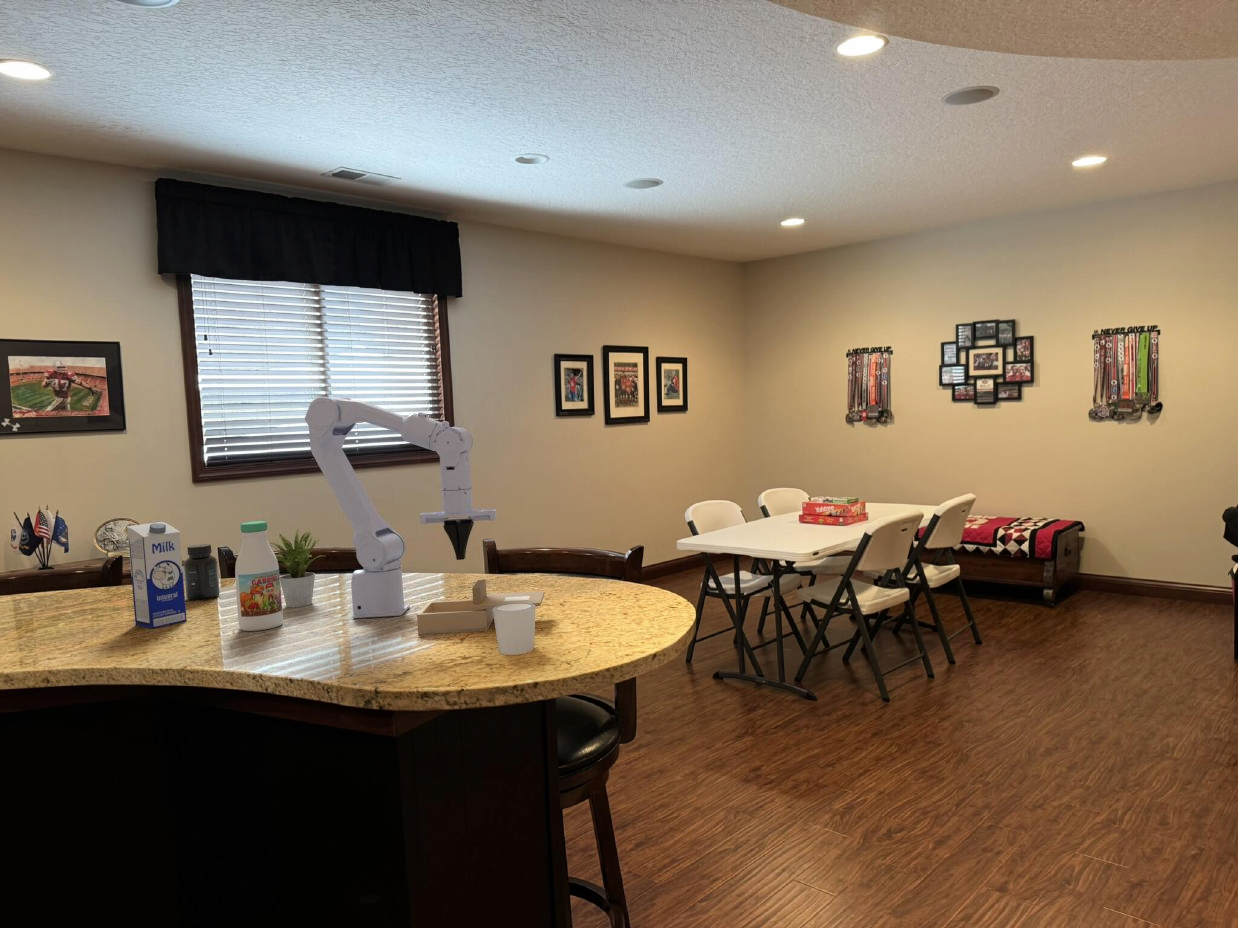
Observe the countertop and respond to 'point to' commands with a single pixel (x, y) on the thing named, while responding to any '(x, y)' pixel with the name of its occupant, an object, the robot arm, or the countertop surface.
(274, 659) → the countertop surface
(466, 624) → the mailer
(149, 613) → the milk carton
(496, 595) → the lid
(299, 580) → the house plant
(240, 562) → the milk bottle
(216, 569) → the supplement bottle
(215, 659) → the countertop surface
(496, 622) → the white cup
